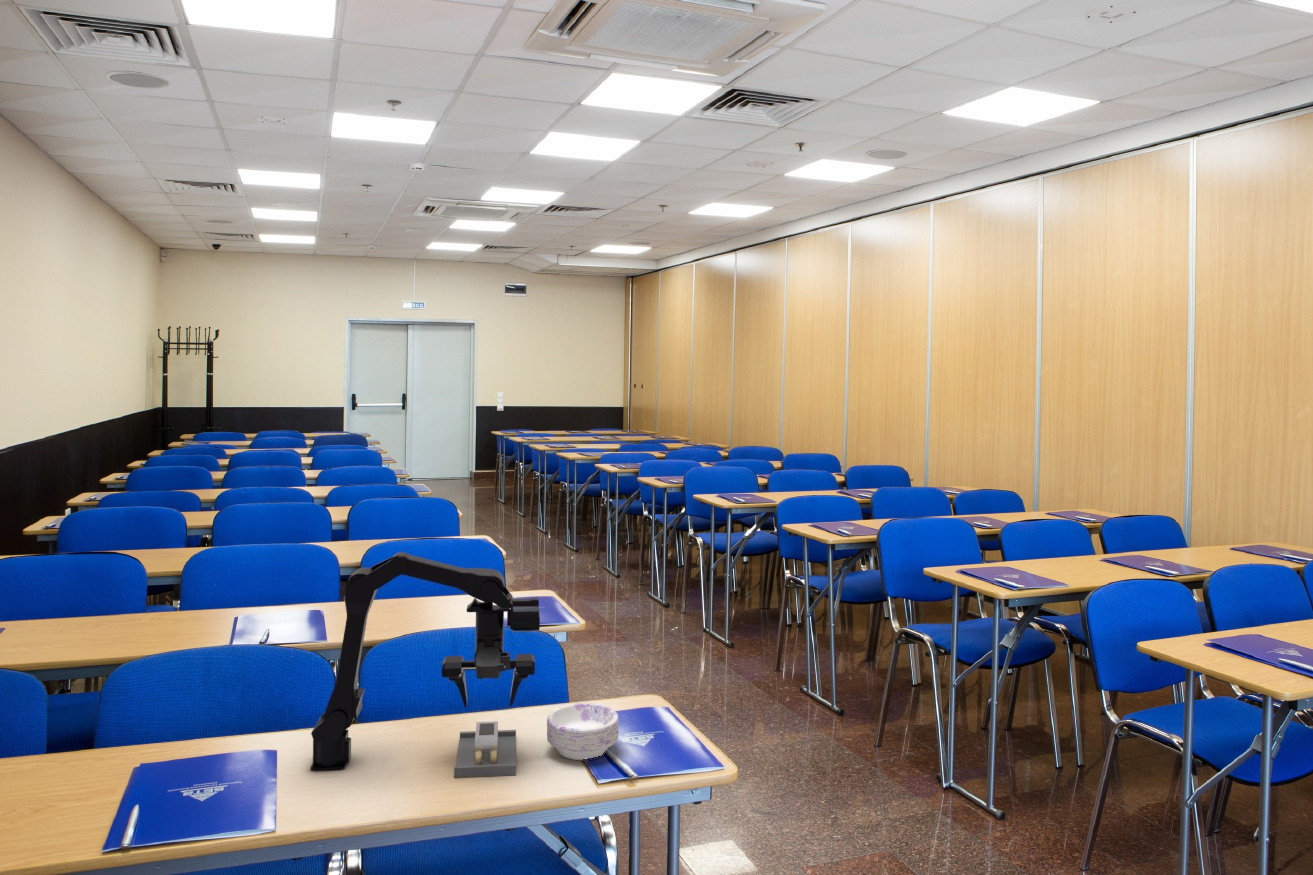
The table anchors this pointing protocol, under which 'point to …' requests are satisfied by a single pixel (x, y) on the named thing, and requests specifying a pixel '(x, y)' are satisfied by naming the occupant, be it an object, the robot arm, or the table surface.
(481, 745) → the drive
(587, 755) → the paper bowls
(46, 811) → the table surface
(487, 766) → the tray
